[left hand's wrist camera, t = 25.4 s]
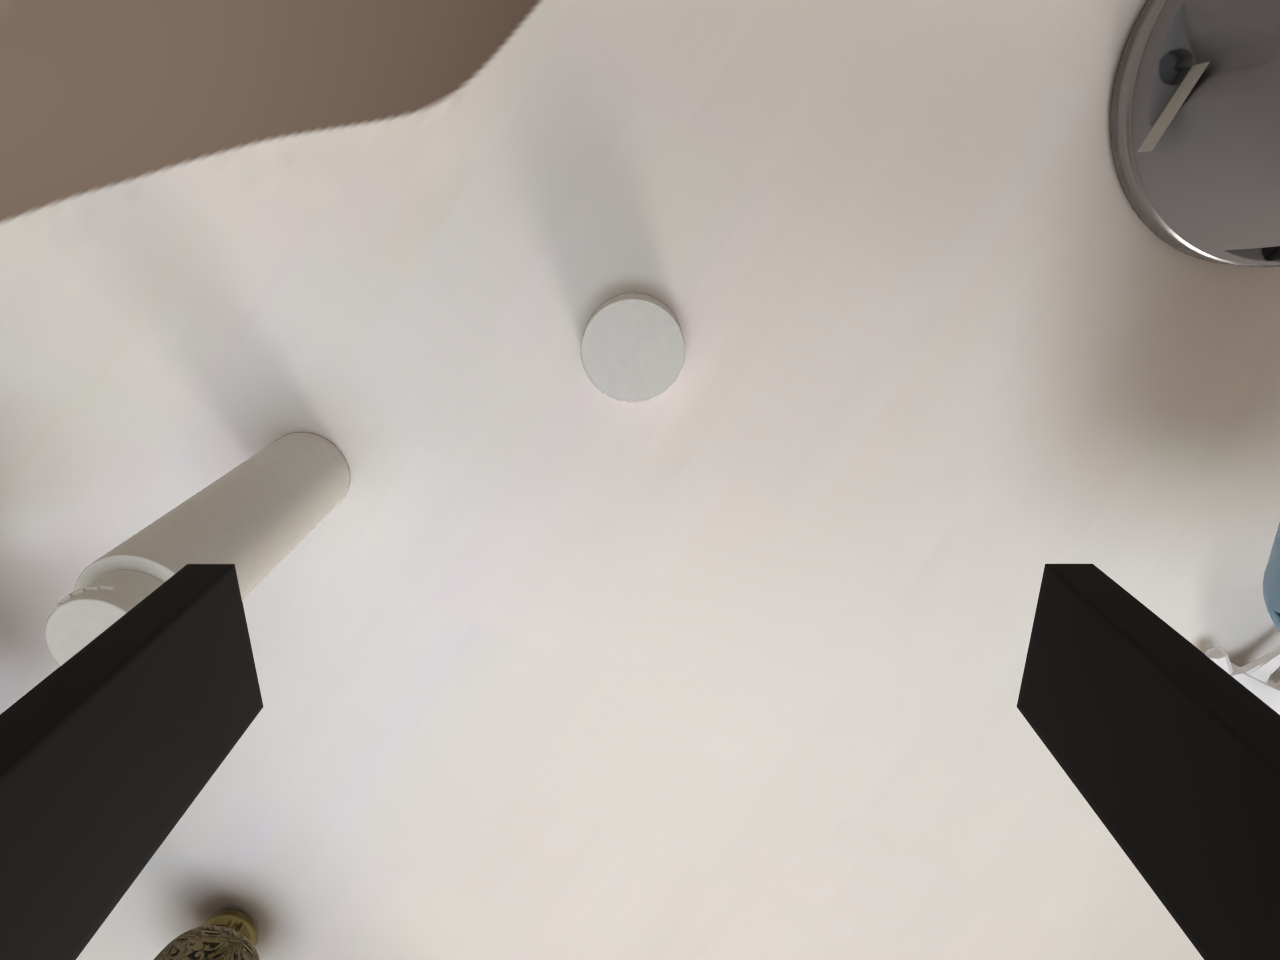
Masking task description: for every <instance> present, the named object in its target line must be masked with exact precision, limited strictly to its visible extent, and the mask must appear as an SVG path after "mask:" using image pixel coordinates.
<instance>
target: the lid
mask: <svg viewBox="0 0 1280 960" xmlns="http://www.w3.org/2000/svg"><path fill="white" fill-rule="evenodd" d="M684 357H685V344H684V339H683V335H682V332H681V328H680V326H679V323H678V321H677V319H676V317H675V316H674V314H673V313H672V311H671V310H670V309H669V308H668V307H667V306H666V305H665V304H663V303H662V302H661V301H659V300H658V299H656V298H653V297H651V296H648V295H645V294H640V293H627V294H621V295H618V296H615V297H613V298H611V299H609V300H607V301H606V302H604V303H603V304H602V305H600V306H599V307H598V308H597V309H596V311H595V312H594V313H593V314H592V316H591V318H590V320H589V322H588V324H587V327H586V329H585V331H584V334H583V338H582V342H581V358H582V363H583V367H584V369H585V372H586V374H587V376H588V377H589V379H590V380H591V382H592V383H593V384H594V385H595V386H596V387H597V388H598V389H599V390H600V391H601V392H603V393H604V394H606V395H607V396H609V397H611V398H613V399H616V400H619V401H624V402H642V401H647V400H650V399H653V398H655V397H657V396H659V395H661V394H662V393H663V392H665V391H666V390H667V389H668V388H669V387H670V386H671V385H672V384H673V383H674V382H675V380H676V379H677V377H678V376H679V374H680V371H681V369H682V366H683V363H684Z"/></svg>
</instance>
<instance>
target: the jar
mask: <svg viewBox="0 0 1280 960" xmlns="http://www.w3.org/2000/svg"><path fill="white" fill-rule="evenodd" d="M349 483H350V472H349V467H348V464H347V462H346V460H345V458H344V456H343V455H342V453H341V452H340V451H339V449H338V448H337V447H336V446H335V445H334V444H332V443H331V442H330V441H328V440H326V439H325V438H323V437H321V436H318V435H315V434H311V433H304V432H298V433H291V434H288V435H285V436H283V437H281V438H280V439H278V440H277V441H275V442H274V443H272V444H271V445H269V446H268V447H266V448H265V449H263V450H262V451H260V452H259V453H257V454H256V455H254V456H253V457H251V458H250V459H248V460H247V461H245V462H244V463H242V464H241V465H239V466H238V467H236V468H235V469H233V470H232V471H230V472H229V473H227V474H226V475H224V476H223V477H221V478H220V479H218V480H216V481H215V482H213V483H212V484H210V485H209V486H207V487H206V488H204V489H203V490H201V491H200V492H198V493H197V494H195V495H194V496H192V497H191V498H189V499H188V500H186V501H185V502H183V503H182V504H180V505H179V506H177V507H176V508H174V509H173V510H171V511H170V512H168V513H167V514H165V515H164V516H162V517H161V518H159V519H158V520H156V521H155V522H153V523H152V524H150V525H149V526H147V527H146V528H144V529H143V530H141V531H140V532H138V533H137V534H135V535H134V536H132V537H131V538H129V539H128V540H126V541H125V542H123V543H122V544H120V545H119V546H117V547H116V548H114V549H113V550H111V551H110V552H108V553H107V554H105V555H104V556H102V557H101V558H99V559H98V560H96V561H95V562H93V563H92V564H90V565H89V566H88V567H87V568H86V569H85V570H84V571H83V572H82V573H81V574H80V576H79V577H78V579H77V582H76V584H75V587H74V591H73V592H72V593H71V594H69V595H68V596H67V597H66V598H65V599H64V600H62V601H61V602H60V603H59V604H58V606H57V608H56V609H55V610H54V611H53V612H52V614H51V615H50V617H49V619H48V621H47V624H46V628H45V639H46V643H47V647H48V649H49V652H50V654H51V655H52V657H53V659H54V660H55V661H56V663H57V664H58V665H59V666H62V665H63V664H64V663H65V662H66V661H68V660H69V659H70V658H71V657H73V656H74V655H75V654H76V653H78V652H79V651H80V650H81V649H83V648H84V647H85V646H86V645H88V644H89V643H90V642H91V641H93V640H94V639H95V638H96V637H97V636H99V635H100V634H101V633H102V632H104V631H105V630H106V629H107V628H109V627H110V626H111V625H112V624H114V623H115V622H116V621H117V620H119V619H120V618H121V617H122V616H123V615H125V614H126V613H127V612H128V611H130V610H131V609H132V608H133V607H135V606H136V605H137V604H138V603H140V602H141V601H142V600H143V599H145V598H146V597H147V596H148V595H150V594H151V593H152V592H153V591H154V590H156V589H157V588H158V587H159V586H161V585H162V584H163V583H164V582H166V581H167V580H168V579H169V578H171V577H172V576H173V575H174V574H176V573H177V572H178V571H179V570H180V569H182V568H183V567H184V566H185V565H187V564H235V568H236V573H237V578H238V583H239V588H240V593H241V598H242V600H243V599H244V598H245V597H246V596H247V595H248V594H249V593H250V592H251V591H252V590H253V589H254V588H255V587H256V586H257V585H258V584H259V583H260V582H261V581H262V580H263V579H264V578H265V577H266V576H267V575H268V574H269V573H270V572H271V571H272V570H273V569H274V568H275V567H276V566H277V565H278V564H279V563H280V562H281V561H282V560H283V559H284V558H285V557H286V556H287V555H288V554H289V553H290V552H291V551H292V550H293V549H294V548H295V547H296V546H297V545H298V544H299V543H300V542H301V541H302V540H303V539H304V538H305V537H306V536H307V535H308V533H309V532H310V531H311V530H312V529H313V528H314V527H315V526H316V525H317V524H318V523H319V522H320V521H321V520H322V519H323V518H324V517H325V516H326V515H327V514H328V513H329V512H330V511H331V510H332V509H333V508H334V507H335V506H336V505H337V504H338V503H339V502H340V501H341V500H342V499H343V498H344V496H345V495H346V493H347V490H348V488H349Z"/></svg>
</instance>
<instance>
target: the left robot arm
mask: <svg viewBox="0 0 1280 960" xmlns="http://www.w3.org/2000/svg"><path fill="white" fill-rule="evenodd" d="M1110 132H1111V146H1112V152H1113V158H1114V164H1115V167H1116V171H1117V174H1118V178H1119V181H1120V183H1121V186H1122V188H1123V191H1124V193H1125V195H1126V197H1127V199H1128V200H1129V202H1130V204H1131V206H1132V208H1133V209H1134V210H1135V212H1136V213H1137V215H1138V216H1139V217H1140V219H1141V220H1142V221H1143V222H1144V223H1145V224H1146V226H1147V227H1148V228H1149V229H1150V230H1151V231H1152V232H1154V233H1155V234H1156V235H1157V236H1158V237H1159V238H1161V239H1162V240H1163V241H1165V242H1166V243H1168V244H1169V245H1171V246H1172V247H1174V248H1176V249H1178V250H1180V251H1182V252H1184V253H1186V254H1188V255H1191V256H1194V257H1197V258H1200V259H1203V260H1208V261H1212V262H1218V263H1226V264H1234V265H1244V266H1254V267H1271V266H1280V0H1148V1H1147V3H1146V5H1145V7H1144V8H1143V10H1142V12H1141V14H1140V15H1139V17H1138V19H1137V21H1136V23H1135V26H1134V28H1133V30H1132V32H1131V34H1130V36H1129V39H1128V41H1127V44H1126V47H1125V49H1124V52H1123V54H1122V58H1121V61H1120V65H1119V68H1118V71H1117V75H1116V80H1115V85H1114V90H1113V96H1112V105H1111V123H1110ZM1263 594H1264V600H1265V604H1266V607H1267V610H1268V612H1269V614H1270V616H1271V618H1272V620H1273V621H1274V623H1275V625H1276V627H1277V628H1278V630H1279V631H1280V523H1279V527H1278V530H1277V533H1276V537H1275V540H1274V544H1273V547H1272V551H1271V554H1270V557H1269V561H1268V564H1267V567H1266V570H1265V573H1264V579H1263ZM262 708H263V703H262V698H261V693H260V688H259V683H258V678H257V673H256V668H255V663H254V658H253V653H252V648H251V643H250V638H249V633H248V628H247V623H246V618H245V613H244V608H243V603H242V598H241V593H240V588H239V583H238V578H237V573H236V568H235V564H187V565H185V566H184V567H183V568H182V569H180V570H179V571H178V572H177V573H176V574H174V575H173V576H172V577H171V578H169V579H168V580H167V581H166V582H164V583H163V584H162V585H161V586H159V587H158V588H157V589H156V590H154V591H153V592H152V593H151V594H150V595H148V596H147V597H146V598H145V599H143V600H142V601H141V602H140V603H138V604H137V605H136V606H135V607H133V608H132V609H131V610H130V611H128V612H127V613H126V614H125V615H123V616H122V617H121V618H120V619H119V620H117V621H116V622H115V623H114V624H112V625H111V626H110V627H109V628H107V629H106V630H105V631H104V632H102V633H101V634H100V635H99V636H97V637H96V638H95V639H94V640H93V641H91V642H90V643H89V644H88V645H86V646H85V647H84V648H83V649H81V650H80V651H79V652H78V653H76V654H75V655H74V656H73V657H71V658H70V659H69V660H68V661H66V662H65V663H64V664H63V665H62V666H60V667H59V668H58V669H57V670H55V671H54V672H53V673H52V674H50V675H49V676H48V677H47V678H45V679H44V680H43V681H42V682H40V683H39V684H38V685H37V686H35V687H34V688H33V689H32V690H31V691H29V692H28V693H27V694H26V695H24V696H23V697H22V698H21V699H19V700H18V701H17V702H16V703H14V704H13V705H12V706H11V707H9V708H8V709H7V710H6V711H5V712H3V713H2V714H1V715H0V960H76V958H77V957H78V956H79V954H80V953H81V952H82V950H83V949H84V948H85V946H86V945H87V944H88V942H89V941H90V940H91V938H92V937H93V936H94V934H95V933H96V932H97V930H98V929H99V927H100V926H101V925H102V923H103V922H104V921H105V919H106V918H107V917H108V915H109V914H110V913H111V911H112V910H113V909H114V907H115V906H116V905H117V903H118V902H119V901H120V899H121V898H122V896H123V895H124V894H125V892H126V891H127V890H128V888H129V887H130V886H131V884H132V883H133V882H134V880H135V879H136V878H137V876H138V875H139V874H140V872H141V871H142V869H143V868H144V867H145V865H146V864H147V863H148V861H149V860H150V859H151V857H152V856H153V855H154V853H155V852H156V851H157V849H158V848H159V847H160V845H161V844H162V843H163V841H164V840H165V838H166V837H167V836H168V834H169V833H170V832H171V830H172V829H173V828H174V826H175V825H176V824H177V822H178V821H179V820H180V818H181V817H182V816H183V814H184V813H185V812H186V810H187V809H188V807H189V806H190V805H191V803H192V802H193V801H194V799H195V798H196V797H197V795H198V794H199V793H200V791H201V790H202V789H203V787H204V786H205V785H206V783H207V782H208V781H209V779H210V778H211V776H212V775H213V774H214V772H215V771H216V770H217V768H218V767H219V766H220V764H221V763H222V762H223V760H224V759H225V758H226V756H227V755H228V754H229V752H230V751H231V749H232V748H233V747H234V745H235V744H236V743H237V741H238V740H239V739H240V737H241V736H242V735H243V733H244V732H245V731H246V729H247V728H248V727H249V725H250V724H251V723H252V721H253V720H254V718H255V717H256V716H257V714H258V713H259V712H260V710H261V709H262ZM1017 708H1018V709H1019V710H1020V712H1021V713H1022V714H1023V716H1024V717H1025V718H1026V720H1027V721H1028V723H1029V724H1030V725H1031V727H1032V728H1033V729H1034V731H1035V732H1036V733H1037V735H1038V736H1039V737H1040V739H1041V740H1042V741H1043V743H1044V744H1045V745H1046V747H1047V748H1048V750H1049V751H1050V752H1051V754H1052V755H1053V756H1054V758H1055V759H1056V760H1057V762H1058V763H1059V764H1060V766H1061V767H1062V768H1063V770H1064V771H1065V772H1066V774H1067V775H1068V776H1069V778H1070V779H1071V781H1072V782H1073V783H1074V785H1075V786H1076V787H1077V789H1078V790H1079V791H1080V793H1081V794H1082V795H1083V797H1084V798H1085V799H1086V801H1087V802H1088V803H1089V805H1090V806H1091V807H1092V809H1093V810H1094V812H1095V813H1096V814H1097V816H1098V817H1099V818H1100V820H1101V821H1102V822H1103V824H1104V825H1105V826H1106V828H1107V829H1108V830H1109V832H1110V833H1111V834H1112V836H1113V837H1114V838H1115V840H1116V841H1117V843H1118V844H1119V845H1120V847H1121V848H1122V849H1123V851H1124V852H1125V853H1126V855H1127V856H1128V857H1129V859H1130V860H1131V861H1132V863H1133V864H1134V865H1135V867H1136V868H1137V869H1138V871H1139V872H1140V874H1141V875H1142V876H1143V878H1144V879H1145V880H1146V882H1147V883H1148V884H1149V886H1150V887H1151V888H1152V890H1153V891H1154V892H1155V894H1156V895H1157V896H1158V898H1159V899H1160V901H1161V902H1162V903H1163V905H1164V906H1165V907H1166V909H1167V910H1168V911H1169V913H1170V914H1171V915H1172V917H1173V918H1174V919H1175V921H1176V922H1177V923H1178V925H1179V926H1180V927H1181V929H1182V930H1183V932H1184V933H1185V934H1186V936H1187V937H1188V938H1189V940H1190V941H1191V942H1192V944H1193V945H1194V946H1195V948H1196V949H1197V950H1198V952H1199V953H1200V954H1201V956H1202V957H1203V958H1204V960H1280V715H1279V714H1278V713H1277V712H1275V711H1274V710H1273V709H1272V708H1271V707H1269V706H1268V705H1267V704H1266V703H1264V702H1263V701H1262V700H1261V699H1259V698H1258V697H1257V696H1256V695H1254V694H1253V693H1252V692H1251V691H1249V690H1248V689H1247V688H1246V687H1245V686H1243V685H1242V684H1241V683H1240V682H1238V681H1237V680H1236V679H1235V678H1233V677H1232V676H1231V675H1230V674H1228V673H1227V672H1226V671H1225V670H1223V669H1222V668H1221V667H1220V666H1218V665H1217V664H1216V663H1215V662H1214V661H1212V660H1211V659H1210V658H1209V657H1207V656H1206V655H1205V654H1204V653H1202V652H1201V651H1200V650H1199V649H1197V648H1196V647H1195V646H1194V645H1192V644H1191V643H1190V642H1189V641H1187V640H1186V639H1185V638H1184V637H1183V636H1181V635H1180V634H1179V633H1178V632H1176V631H1175V630H1174V629H1173V628H1171V627H1170V626H1169V625H1168V624H1166V623H1165V622H1164V621H1163V620H1161V619H1160V618H1159V617H1158V616H1157V615H1155V614H1154V613H1153V612H1152V611H1150V610H1149V609H1148V608H1147V607H1145V606H1144V605H1143V604H1142V603H1140V602H1139V601H1138V600H1137V599H1135V598H1134V597H1133V596H1132V595H1130V594H1129V593H1128V592H1127V591H1126V590H1124V589H1123V588H1122V587H1121V586H1119V585H1118V584H1117V583H1116V582H1114V581H1113V580H1112V579H1111V578H1109V577H1108V576H1107V575H1106V574H1104V573H1103V572H1102V571H1101V570H1099V569H1098V568H1097V567H1096V566H1095V565H1093V564H1045V568H1044V573H1043V578H1042V583H1041V588H1040V593H1039V598H1038V603H1037V608H1036V613H1035V618H1034V623H1033V628H1032V633H1031V638H1030V643H1029V648H1028V653H1027V658H1026V663H1025V668H1024V673H1023V678H1022V683H1021V688H1020V693H1019V698H1018V703H1017Z"/></svg>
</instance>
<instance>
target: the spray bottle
mask: <svg viewBox="0 0 1280 960" xmlns="http://www.w3.org/2000/svg"><path fill="white" fill-rule="evenodd" d="M1205 655H1206V656H1207V657H1209V658H1210V659H1211V660H1212V661H1214V662H1215V663H1216V664H1217V665H1218V666H1220V667H1221V668H1222V669H1223V670H1225V671H1226V672H1227V673H1228V674H1230V675H1231V676H1232V677H1233V678H1235V679H1236V680H1237V681H1238V682H1240V683H1241V684H1242V685H1243V686H1245V687H1246V688H1247V689H1248V690H1249V691H1251V692H1252V693H1253V694H1254V695H1256V696H1257V697H1258V698H1259V699H1261V700H1262V701H1263V702H1264V703H1266V704H1267V705H1268V706H1269V707H1271V708H1272V709H1273V710H1274V711H1275V712H1277V713H1278V714H1279V715H1280V682H1278V683H1275V682H1274V681H1273V680H1271V679H1269V677H1270V675H1271V674H1272V673H1273V672H1274V671H1275V670H1276V669H1277V668H1278V667H1279V666H1280V645H1279V646H1277V647H1276V648H1274V649H1273V650H1271V651H1270V652H1268V653H1267V654H1265V655H1264V656H1262V657H1261V658H1259V659H1257V660H1255V661H1253V662H1251V663H1249V664H1247V665H1244V666H1242V667H1239V666H1237V665H1235V664H1233V663H1231V662H1230V660H1229V657H1228V654H1227V652H1226V651H1225V650H1224V649H1222V648H1216V647H1213V648H1210V649H1207V650H1206V653H1205Z"/></svg>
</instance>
